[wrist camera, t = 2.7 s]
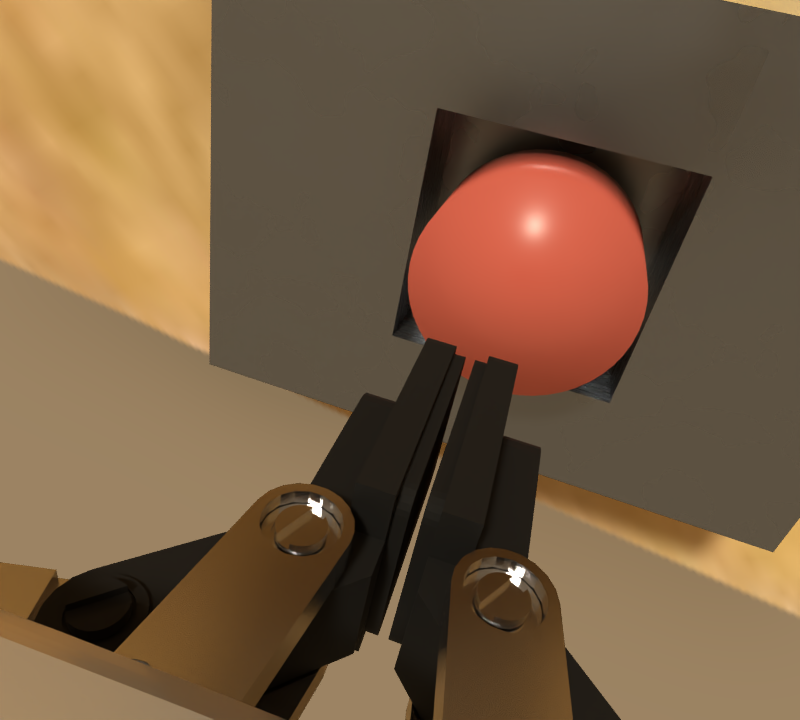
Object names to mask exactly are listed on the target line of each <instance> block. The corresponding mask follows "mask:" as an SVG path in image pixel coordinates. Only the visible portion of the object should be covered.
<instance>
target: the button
mask: <svg viewBox="0 0 800 720" xmlns="http://www.w3.org/2000/svg"><path fill="white" fill-rule="evenodd" d="M408 294H409V301H410V306H411V309H412V313H413V317H414V319H415V321H416V324H417V326H418V328H419V330H420V332H421V334H422V336H423V337H424V339H425V341H426V340H427V338H431V339H434V340H438V341H441V342H444V343H448V344H451V345H455V346H457V349H456V353H455V354H457V355H460V356H464V357H466V359H465V363H464V367H463V370H462V374H461V376H463V377H464V378H466V379H468V380H469V377H470V374H471V371H472V368H473V365H474V362H475V360H477V361H480V362H484V363H487V361H488V358H489V356H492V357H495V358H498V359H502V360H505V361H508V362H512V363H515V364H518V370H517V375H516V379H515V384H514V389H513V393H512V394H514V395H525V396H538V395H549V394H555V393H560V392H564V391H567V390H571V389H574V388H577V387H579V386H581V385H584V384H586V383H588V382H590V381H592V380H593V379H595V378H597V377H598V376H600V375H602V374H603V373H604V372H606V371H607V370H608V369H609V368H611V367H612V366H613V365H614V364H615V363H616V362H617V361H618V360H619V359H620V358H621V357H622V356H623V355H624V354H625V352H626V351H627V350H628V348H629V347H630V346H631V344H632V343H633V341H634V339H635V337H636V335H637V334H638V332H639V330H640V327H641V324H642V322H643V319H644V316H645V311H646V306H647V299H648V280H647V270H646V262H645V253H644V244H643V235H642V229H641V225H640V221H639V217H638V215H637V212H636V210H635V208H634V205H633V203H632V202H631V200H630V198H629V197H628V195H627V193H626V192H625V191H624V190H623V188H622V187H621V186H620V185H619V184H618V182H617V181H616V180H615V179H613V178H612V177H611V176H610V175H609V174H608V173H607V172H606V171H604V170H603V169H601V168H600V167H598V166H597V165H595V164H594V163H592V162H589V161H587V160H585V159H583V158H581V157H578V156H575V155H572V154H569V153H566V152H561V151H555V150H542V149H534V150H523V151H518V152H514V153H509V154H506V155H503V156H501V157H498V158H495V159H493V160H491V161H489V162H487V163H485V164H484V165H482V166H480V167H479V168H478V169H476V170H475V171H473V172H472V173H471V174H470V175H468V176H467V177H466V178H465V179H464V180H463V181H462V182H461V183H460V184H459V185H458V187H457V188H456V189H455V190H454V192H453V193H452V194H451V195H450V196H449V198H448V199H447V200H446V201H445V203H444V204H443V205H442V206H441V208H440V209H439V210H438V211H437V213H436V214H435V215H434V216H433V217H432V219H431V220H430V221H429V222H428V224H427V225H426V227H425V228H424V230H423V231H422V233H421V235H420V236H419V238H418V241H417V243H416V245H415V248H414V250H413V254H412V257H411V261H410V265H409V273H408Z"/></svg>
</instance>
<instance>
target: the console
mask: <svg viewBox="0 0 800 720" xmlns="http://www.w3.org/2000/svg"><path fill="white" fill-rule="evenodd" d="M534 149H542V150H555V151H561V152H566V153H569V154H572V155H575V156H578V157H581V158H583V159H585V160H587V161H589V162H592V163H594V164H595V165H597V166H598V167H600V168H601V169H603V170H604V171H606V172H607V173H608V174H609V175H610V176H611V177H612V178H613V179H615V180H616V181H617V182H618V184H619V185H620V186H621V187H622V188H623V190H624V191H625V192H626V193H627V195H628V197H629V198H630V200H631V202H632V203H633V205H634V208H635V210H636V212H637V215H638V217H639V221H640V225H641V229H642V235H643V244H644V253H645V262H646V270H647V280H648V299H647V306H646V311H645V316H644V319H643V322H642V324H641V327H640V330H639V332H638V334H637V335H636V337H635V339H634V341H633V343H632V344H631V346H630V347H629V348H628V350H627V351H626V352H625V354H624V355H623V356H622V357H621V358H620V359H619V360H618V361H617V362H616V363H615V364H614V365H613V366H612V367H611V368H609V369H608V370H607V371H606V372H604V373H603V374H602V375H600V376H598V377H597V378H595V379H593V380H592V381H590V382H588V383H586V384H584V385H581V386H579V387H577V388H574V389H571V390H567V391H564V392H560V393H555V394H549V395H538V396H525V395H514V394H512V398H511V403H510V407H509V412H508V416H507V421H506V426H505V430H504V435H503V436H507V437H510V438H513V439H516V440H519V441H523V442H526V443H529V444H532V445H535V446H538V447H540V448H541V457H540V465H539V473H538V474H540V475H543V476H546V477H549V478H552V479H555V480H558V481H561V482H564V483H567V484H570V485H573V486H576V487H579V488H582V489H585V490H588V491H591V492H594V493H597V494H600V495H603V496H606V497H609V498H612V499H615V500H618V501H621V502H624V503H627V504H630V505H633V506H636V507H639V508H642V509H645V510H648V511H651V512H654V513H657V514H660V515H663V516H666V517H669V518H672V519H675V520H678V521H681V522H684V523H687V524H690V525H693V526H696V527H699V528H702V529H705V530H708V531H711V532H714V533H717V534H720V535H723V536H726V537H729V538H732V539H735V540H738V541H741V542H744V543H747V544H750V545H753V546H756V547H759V548H762V549H765V550H768V551H771V552H774V550H775V549H776V548H777V547H778V545H779V544H780V543H781V541H782V540H783V539H784V537H785V536H786V535H787V534H788V532H789V531H790V530H791V528H792V527H793V526H794V524H795V523H796V522H797V521H798V519H799V518H800V16H796V15H791V14H786V13H781V12H776V11H771V10H767V9H762V8H757V7H752V6H747V5H742V4H738V3H733V2H728V1H723V0H212V54H211V216H210V364H211V365H214V366H217V367H220V368H223V369H226V370H229V371H232V372H235V373H238V374H241V375H244V376H247V377H250V378H253V379H256V380H259V381H262V382H265V383H268V384H271V385H274V386H277V387H280V388H283V389H286V390H289V391H292V392H295V393H298V394H301V395H304V396H307V397H310V398H313V399H316V400H319V401H322V402H325V403H327V404H330V405H333V406H336V407H339V408H342V409H345V410H348V411H351V412H353V411H354V409H355V407H356V406H357V404H358V402H359V401H360V399H361V397H362V396H363V395H364V394H365V393H369V394H373V395H376V396H379V397H382V398H385V399H389V400H392V401H395V402H396V400H397V398H398V396H399V394H400V392H401V390H402V388H403V386H404V384H405V382H406V380H407V378H408V376H409V374H410V372H411V370H412V368H413V366H414V364H415V362H416V360H417V358H418V356H419V354H420V352H421V350H422V348H423V346H424V344H425V342H426V341H425V339H424V337H423V336H422V334H421V332H420V330H419V328H418V326H417V324H416V321H415V319H414V317H413V313H412V309H411V306H410V301H409V294H408V273H409V265H410V261H411V257H412V254H413V250H414V248H415V245H416V243H417V241H418V238H419V236H420V235H421V233H422V231H423V230H424V228H425V227H426V225H427V224H428V222H429V221H430V220H431V219H432V217H433V216H434V215H435V214H436V213H437V211H438V210H439V209H440V208H441V206H442V205H443V204H444V203H445V201H446V200H447V199H448V198H449V196H450V195H451V194H452V193H453V192H454V190H455V189H456V188H457V187H458V185H459V184H460V183H461V182H462V181H463V180H464V179H465V178H466V177H467V176H468V175H470V174H471V173H472V172H473V171H475V170H476V169H478V168H479V167H480V166H482V165H484V164H485V163H487V162H489V161H491V160H493V159H495V158H498V157H501V156H503V155H506V154H509V153H514V152H518V151H523V150H534ZM467 383H468V379H466V378H464V377H463V376H461V377H460V381H459V385H458V388H457V392H456V395H455V399H454V402H453V406H452V410H451V413H450V417H449V420H448V424H447V427H446V431H445V434H444V438H443V442H444V443H447V442H448V439H449V436H450V433H451V430H452V427H453V424H454V421H455V419H456V416H457V413H458V410H459V407H460V404H461V401H462V398H463V395H464V392H465V389H466V386H467Z"/></svg>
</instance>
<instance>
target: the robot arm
mask: <svg viewBox="0 0 800 720" xmlns="http://www.w3.org/2000/svg"><path fill="white" fill-rule="evenodd" d="M456 349H457V346H455V345H451V344H448V343H444V342H441V341H438V340H434V339H431V338H427V340H426V342H425V344H424V346H423V348H422V350H421V352H420V354H419V356H418V358H417V360H416V362H415V364H414V366H413V368H412V370H411V372H410V374H409V376H408V378H407V380H406V382H405V384H404V386H403V388H402V390H401V392H400V394H399V396H398V398H397V400H396V402H395V401H392V400H389V399H385V398H382V397H379V396H376V395H373V394H369V393H365V394H364V395H363V396H362V397H361V399H360V401H359V402H358V404H357V406H356V407H355V409H354V411H353V413H352V414H351V416H350V418H349V419H348V421H347V423H346V425H345V426H344V428H343V430H342V432H341V433H340V435H339V436H338V438H337V440H336V442H335V443H334V445H333V447H332V448H331V450H330V452H329V453H328V455H327V457H326V459H325V460H324V462H323V464H322V465H321V467H320V469H319V471H318V472H317V474H316V476H315V477H314V479H313V481H312V482H311V484H301V483H296V484H289V485H283V486H280V487H278V488H275V489H273V490H270V491H268V492H267V493H266V494H264V495H263V496H262V497H260V498H259V499H258V500H257V501H256V502H255V503H254V504H253V505H252V506H251V507H250V508H249V509H248V510H247V511H246V513H245V514H244V515H243V516H242V517H241V518H240V519H239V520H238V521H237V522H236V523H235V524H234V525H233V526H232V527H231V528H230V530H229V531H228V532H224V533H221V534H217V535H213V536H210V537H207V538H203V539H199V540H196V541H192V542H189V543H185V544H181V545H178V546H174V547H171V548H167V549H164V550H160V551H157V552H153V553H149V554H146V555H142V556H139V557H135V558H132V559H128V560H124V561H121V562H118V563H114V564H110V565H107V566H103V567H100V568H96V569H92V570H90V571H87V572H85V573H82V574H80V575H78V576H75V577H73V578H71V579H62V578H58V576H57V571H56V570H53V569H46V568H39V567H31V566H23V565H16V564H9V563H2V562H0V720H298V719H299V718H300V716H301V714H302V713H303V711H304V709H305V707H306V706H307V704H308V702H309V701H310V699H311V697H312V696H313V694H314V692H315V691H316V689H317V687H318V685H319V684H320V682H321V680H322V679H323V676H324V674H325V671H326V669H327V666H328V664H330V663H332V662H334V661H337V660H339V659H341V658H344V657H346V656H349V655H351V654H353V653H354V650H356V651H359V648H360V646H361V643H362V640H363V637H364V634H365V632H366V631H367V632H370V633H373V634H375V635H378V634H379V631H380V628H381V626H382V623H383V620H384V617H385V614H386V610H387V608H388V605H389V602H390V599H391V596H392V593H393V591H394V587H395V585H396V582H397V579H398V576H399V573H400V570H401V567H402V564H403V561H404V559H405V556H406V553H407V550H408V547H409V544H410V541H411V538H412V535H413V532H414V529H415V527H416V524H417V521H418V518H419V515H420V512H421V509H422V506H423V503H424V500H425V497H426V494H427V491H428V489H429V486H430V483H431V479H432V476H433V473H434V470H435V466H436V463H437V459H438V456H439V452H440V449H441V445H442V442H443V438H444V434H445V431H446V427H447V424H448V420H449V417H450V413H451V410H452V406H453V402H454V399H455V395H456V392H457V388H458V385H459V381H460V377H461V374H462V370H463V367H464V363H465V359H466V357H464V356H460V355H457V354H455V353H456ZM517 370H518V364H515V363H512V362H508V361H505V360H502V359H498V358H495V357H492V356H489V358H488V361H487V363H484V362H480V361H477V360H475V362H474V365H473V368H472V371H471V374H470V377H469V380H468V383H467V386H466V389H465V392H464V395H463V398H462V401H461V404H460V407H459V410H458V413H457V416H456V419H455V421H454V424H453V427H452V430H451V433H450V436H449V439H448V442H447V445H446V448H445V451H444V454H443V457H442V460H441V463H440V466H439V469H438V472H437V475H436V478H435V481H434V484H433V487H432V490H431V493H430V496H429V499H428V503H427V506H426V509H425V512H424V516H423V519H422V522H421V526H420V529H419V533H418V537H417V540H416V543H415V547H414V550H413V554H412V558H411V562H410V565H409V568H408V572H407V575H406V579H405V582H404V586H403V589H402V593H401V596H400V600H399V603H398V607H397V611H396V614H395V618H394V621H393V625H392V628H391V632H390V636H389V640H392V641H395V642H397V643H400V644H402V645H401V648H400V651H399V655H398V658H397V661H396V664H395V668H394V669H395V671H396V673H397V675H398V677H399V679H400V681H401V683H402V684H403V686H404V688H405V690H406V692H407V694H408V696H409V697H410V699H409V702H408V706H407V710H406V718H405V720H621V719H620V718H619V717H618V715H617V714H616V713H615V712H614V710H613V709H612V708H611V706H610V705H609V704H608V702H607V701H606V700H605V698H604V697H603V696H602V694H601V693H600V692H599V691H598V689H597V688H596V687H595V685H594V684H593V683H592V681H591V680H590V679H589V677H588V676H587V675H586V674H585V672H584V671H583V670H582V668H581V667H580V666H579V664H578V663H577V662H576V661H575V659H574V658H573V657H572V655H571V654H570V653H569V651H568V650H567V649H566V648H565V643H564V634H563V625H562V616H561V608H560V602H559V599H558V595H557V592H556V589H555V587H554V586H553V584H552V582H551V581H550V579H549V577H548V576H547V575H546V574H545V573H544V572H543V571H542V570H541V569H540V568H539V567H538V566H537V565H536V564H535V563H533V562H532V561H530V560H529V559H528V553H529V545H530V537H531V529H532V521H533V513H534V505H535V497H536V489H537V481H538V473H539V465H540V457H541V448H540V447H538V446H535V445H532V444H529V443H526V442H523V441H519V440H516V439H513V438H510V437H507V436H503V435H504V430H505V426H506V421H507V416H508V412H509V407H510V403H511V398H512V393H513V389H514V384H515V379H516V375H517Z"/></svg>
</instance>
